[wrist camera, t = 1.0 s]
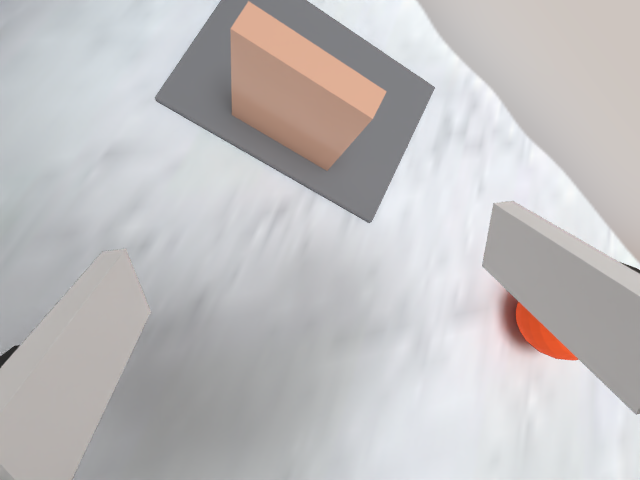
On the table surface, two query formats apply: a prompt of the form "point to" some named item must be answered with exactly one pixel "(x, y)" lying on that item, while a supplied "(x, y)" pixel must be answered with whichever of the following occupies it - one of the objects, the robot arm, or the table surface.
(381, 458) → the table surface
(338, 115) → the tile
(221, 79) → the mat
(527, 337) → the clementine
